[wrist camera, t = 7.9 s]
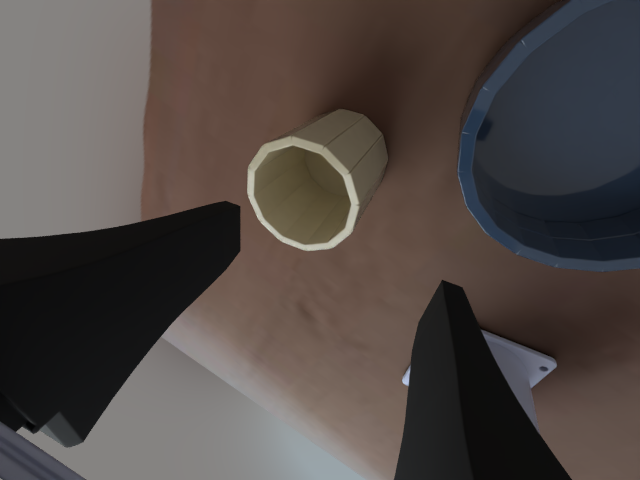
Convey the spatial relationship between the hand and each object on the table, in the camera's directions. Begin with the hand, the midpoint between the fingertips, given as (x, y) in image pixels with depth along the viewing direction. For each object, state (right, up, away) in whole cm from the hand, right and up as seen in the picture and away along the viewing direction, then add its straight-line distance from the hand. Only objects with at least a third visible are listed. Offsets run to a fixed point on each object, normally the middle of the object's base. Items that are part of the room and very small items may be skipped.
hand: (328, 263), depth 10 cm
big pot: (+12, +6, +4) cm, 14 cm away
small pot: (+1, +6, +9) cm, 11 cm away
